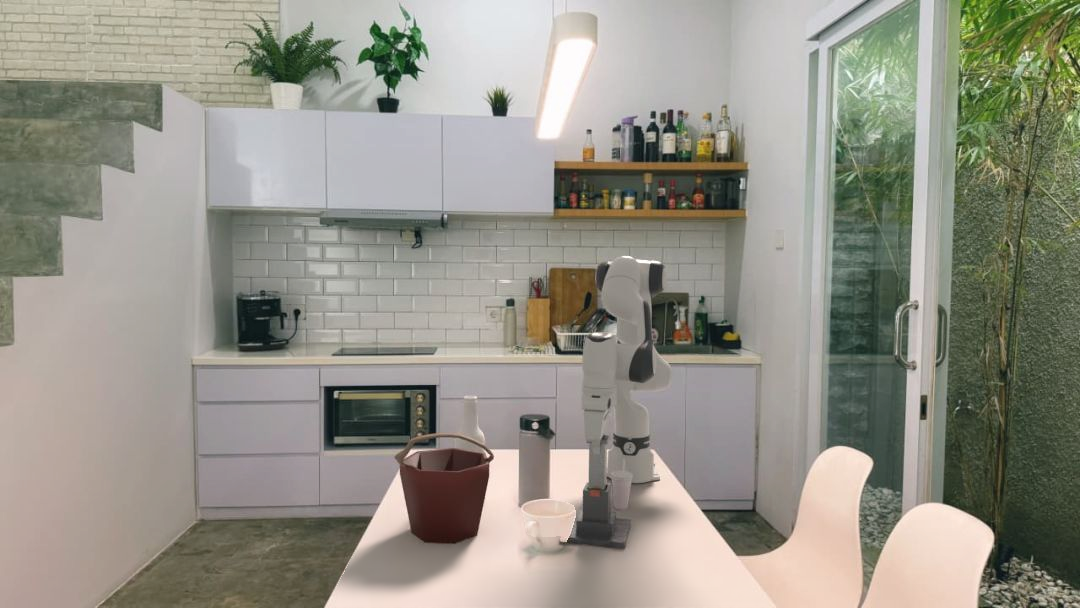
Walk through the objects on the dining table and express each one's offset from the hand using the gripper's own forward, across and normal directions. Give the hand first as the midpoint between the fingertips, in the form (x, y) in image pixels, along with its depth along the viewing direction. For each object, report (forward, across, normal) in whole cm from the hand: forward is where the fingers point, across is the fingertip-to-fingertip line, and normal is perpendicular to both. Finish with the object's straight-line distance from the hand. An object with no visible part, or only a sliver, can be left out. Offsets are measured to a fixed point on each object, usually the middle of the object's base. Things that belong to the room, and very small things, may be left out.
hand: (598, 450), depth 174 cm
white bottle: (+22, -17, -40) cm, 49 cm away
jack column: (+15, 0, 0) cm, 15 cm away
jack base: (+21, 0, 0) cm, 21 cm away
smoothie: (+22, -21, +4) cm, 30 cm away
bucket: (+22, +8, -38) cm, 45 cm away
